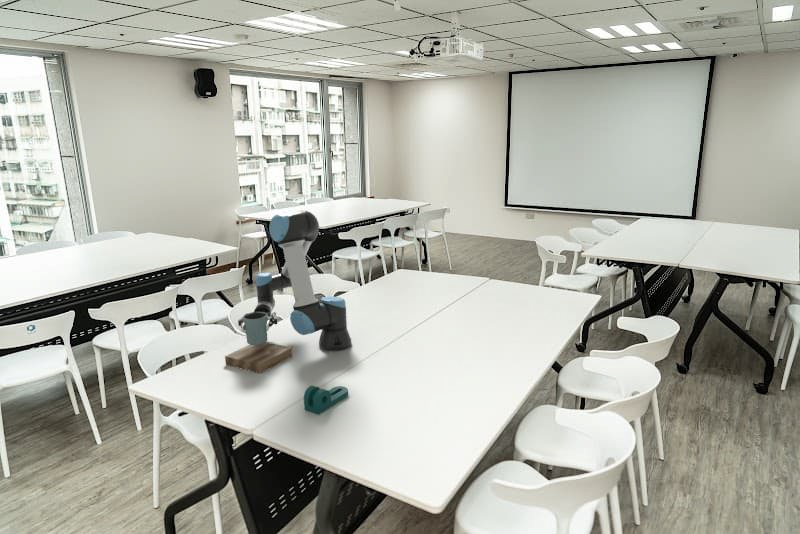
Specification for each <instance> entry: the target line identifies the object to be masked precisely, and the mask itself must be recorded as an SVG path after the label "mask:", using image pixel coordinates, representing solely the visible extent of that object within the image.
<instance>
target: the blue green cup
mask: <svg viewBox="0 0 800 534" xmlns="http://www.w3.org/2000/svg"><path fill="white" fill-rule="evenodd" d="M242 317H243V320H244V325H245V331H244V332H245V337H246V342H247V345H260V344H264V343H266V342H268V331H266V323H267V313H265V312H254V311H252V312H249V313H248V314H247V313H245V314H244V315H243V316H242Z"/></svg>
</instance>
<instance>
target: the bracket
mask: <svg viewBox="0 0 800 534" xmlns="http://www.w3.org/2000/svg"><path fill="white" fill-rule="evenodd" d="M348 396H349V388H348V387H346V386H342V385H339V386H334V387H331V388H330V389H328V390H327V389H324V388H320V387H319V386H316V385H309V386H308V387H307V388H306V390H305V391H304V394H303V405H304V410H305V411H307V412H310V413H312V414H314V415H317V416H319V415H321V414H322V413H324V412H325V411H327V410H329V409H330V408H332V407H333V406H335V405H337V404H338V403H340V402H341V401H343V400H345V399H346V398H348Z"/></svg>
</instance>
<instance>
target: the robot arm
mask: <svg viewBox="0 0 800 534" xmlns="http://www.w3.org/2000/svg"><path fill="white" fill-rule="evenodd" d="M268 226H269V235H270V237H271V238H272V240H273V241H274V242H275V243H276V242H277V245H278V247H280V248H281V249H283V251H282V252H283V255H284V260H285V262H284V265H283V268H282V270H281V271H280V273H278V274H274V275H273V274H272V273H271V272H261V273H258V274H257V275H256V276H255V285H256V293H257V294H256V296H257V297H256V299H257V305H256V306H255V308H254V310H253V312H265V313H267V323H266V331H267V332H268V331H269V330H270V327H273V325H278V318H277V312H276V311H275V312H273V310H274V308H275V305H276V303H275V302H276V300H275V298H274V292H275V291H278V290H283V289H286V288H292V293H293V297H294V303H293V306H292V308H293V311H291V313H290V317H289V320H290V323H291V326H292V329H294V330H295V332H296V333H298V334H299V335H302V336H306V335H309V334H310V335H311V334H314V333H315V332H318V331H321V332H320V337H319V340H318V346H319V348H320V349H321V350H323V351H327V352H328V351H329V352H337V351H342V350H343V351H344V350H346V349H349V347H351V346H352V338H351V336H350V334H349V330H348V325H347V305H346V300H345V299H344V298H342V297H338V296H323V297H321V298H319V299H318V298H316V297H315V293H314V289H313V284H312V281H311V277H310V276H311V275H310V271H309V267H308V262H307V259H306V256H307V253H308V251H309V249H310V246H311V245H312V243H313V242H315V240H316V239H317V237H318V235H319V231H320V225H319V221H318V219H317V217H316V215H315V214H313V213H312V212H310V211H308V210H298V211H288V212H282V213H278V214H275V215H274V216H273V217H272V218H271V219H270V222H269V225H268ZM246 314H248V313H246ZM237 321H238V325H237V326H238V327H240V329H241V332H242V333H244V332H246V331H245V325H244V320H243V316H242V317H241V318H240V319H238V320H237Z"/></svg>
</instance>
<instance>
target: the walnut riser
mask: <svg viewBox="0 0 800 534" xmlns="http://www.w3.org/2000/svg"><path fill="white" fill-rule="evenodd" d="M291 357H293V349H292V347H291V346H290V347H289V346H285V345H280V344H277V343H272V342H268V341H267V342H266V343H264V344H260V345H250V344H247V345H246V346H244V347H242V348H241V347H240V348H239V349H237V350H235V351H233V352H231V353H229V354H227V355H225V356H224V358H225V360H224V361H225V365H226V366H229V365H230V367H233V366H234V367H233V368H236V367H238V369H240V368H242V369H241V370H244V369H246V370H245V371H248V370H250V371H249V372H252V371H253V373H256V372H257V374H259V373H261V374H262V373H264V372H266V371H268V370H269V368H270V369H271V368H273V367H275V366H277V365H279V364H280V363H282V362H284V361H286V360H288V359H289V358H291ZM278 363H279V364H278ZM267 369H268V370H267ZM265 370H266V371H265Z"/></svg>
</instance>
